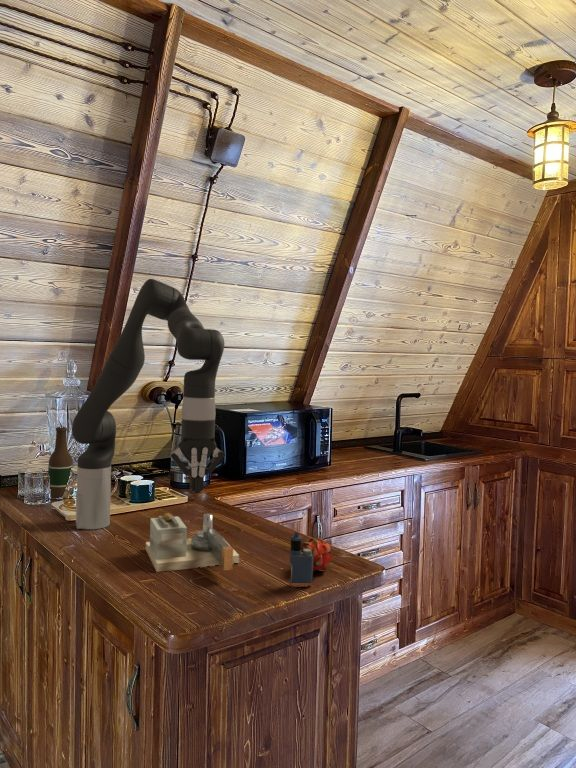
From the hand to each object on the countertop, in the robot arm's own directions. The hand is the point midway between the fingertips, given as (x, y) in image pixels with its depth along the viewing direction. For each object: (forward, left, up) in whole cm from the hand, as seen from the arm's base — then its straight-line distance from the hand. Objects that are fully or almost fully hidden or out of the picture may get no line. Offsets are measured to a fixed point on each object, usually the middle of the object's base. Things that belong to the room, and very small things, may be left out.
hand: (196, 492), depth 135 cm
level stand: (+2, +13, -19) cm, 23 cm away
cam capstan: (+6, +6, -17) cm, 19 cm away
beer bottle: (-27, +81, -20) cm, 87 cm away
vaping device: (+21, -12, -20) cm, 32 cm away
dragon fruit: (+28, -4, -20) cm, 35 cm away
